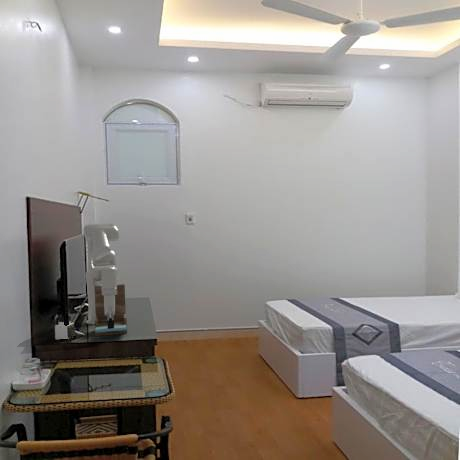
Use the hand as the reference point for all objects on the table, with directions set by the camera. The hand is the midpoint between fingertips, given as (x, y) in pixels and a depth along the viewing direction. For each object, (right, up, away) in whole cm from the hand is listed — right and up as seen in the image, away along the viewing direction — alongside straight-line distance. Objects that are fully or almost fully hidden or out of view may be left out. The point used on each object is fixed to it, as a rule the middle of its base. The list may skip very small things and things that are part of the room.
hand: (110, 328), depth 249 cm
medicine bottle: (-25, -7, +6) cm, 26 cm away
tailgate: (-2, -1, +8) cm, 8 cm away
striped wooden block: (-4, -5, +17) cm, 18 cm away
